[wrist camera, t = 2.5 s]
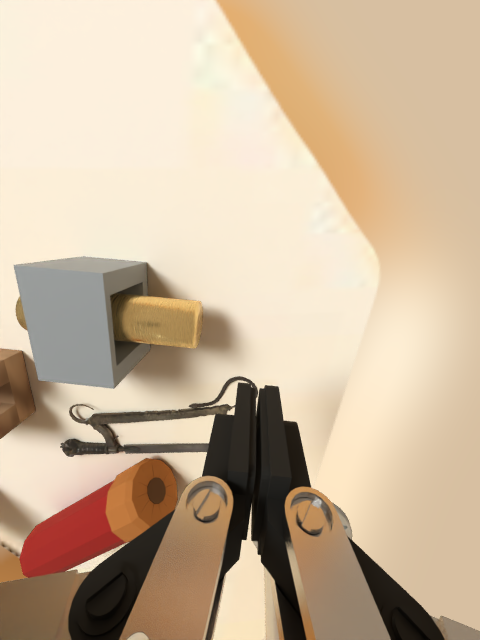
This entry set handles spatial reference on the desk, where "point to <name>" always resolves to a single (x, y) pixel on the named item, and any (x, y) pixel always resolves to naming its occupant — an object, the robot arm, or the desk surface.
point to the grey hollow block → (79, 318)
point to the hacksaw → (110, 446)
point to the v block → (13, 391)
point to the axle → (150, 320)
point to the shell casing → (101, 520)
